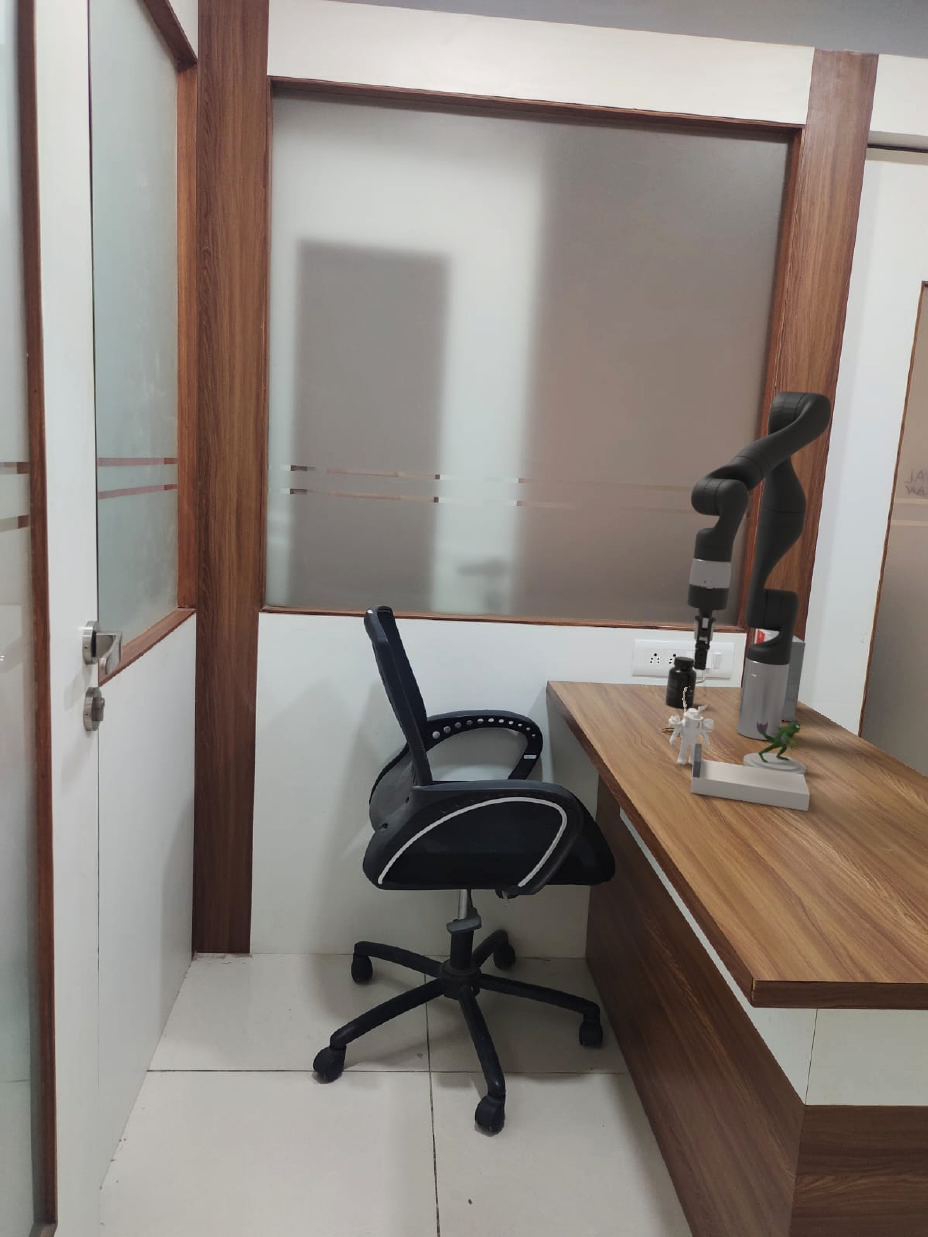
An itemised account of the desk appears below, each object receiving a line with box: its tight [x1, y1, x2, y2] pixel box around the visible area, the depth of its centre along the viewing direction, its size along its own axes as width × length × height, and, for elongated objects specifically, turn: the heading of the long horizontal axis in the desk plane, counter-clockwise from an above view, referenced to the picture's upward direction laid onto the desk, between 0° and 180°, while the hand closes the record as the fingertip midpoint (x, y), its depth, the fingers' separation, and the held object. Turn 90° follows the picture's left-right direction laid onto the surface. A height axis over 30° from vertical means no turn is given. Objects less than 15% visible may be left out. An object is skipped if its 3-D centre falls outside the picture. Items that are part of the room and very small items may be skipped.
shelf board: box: [690, 758, 811, 812], centre depth 160 cm, size 11×20×3 cm, turn 74°
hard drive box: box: [753, 629, 806, 722], centre depth 215 cm, size 16×8×20 cm, turn 178°
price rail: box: [692, 742, 703, 778], centre depth 161 cm, size 11×1×3 cm, turn 164°
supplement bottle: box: [665, 656, 698, 709], centre depth 216 cm, size 7×7×12 cm
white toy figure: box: [668, 704, 715, 766], centre depth 172 cm, size 9×4×12 cm, turn 86°
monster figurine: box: [742, 719, 807, 776], centre depth 174 cm, size 12×12×10 cm
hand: (699, 665), depth 170 cm, fingers open, 8 cm apart
